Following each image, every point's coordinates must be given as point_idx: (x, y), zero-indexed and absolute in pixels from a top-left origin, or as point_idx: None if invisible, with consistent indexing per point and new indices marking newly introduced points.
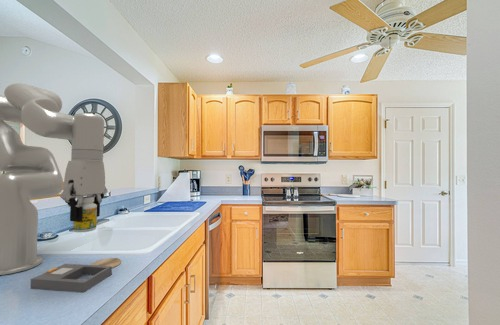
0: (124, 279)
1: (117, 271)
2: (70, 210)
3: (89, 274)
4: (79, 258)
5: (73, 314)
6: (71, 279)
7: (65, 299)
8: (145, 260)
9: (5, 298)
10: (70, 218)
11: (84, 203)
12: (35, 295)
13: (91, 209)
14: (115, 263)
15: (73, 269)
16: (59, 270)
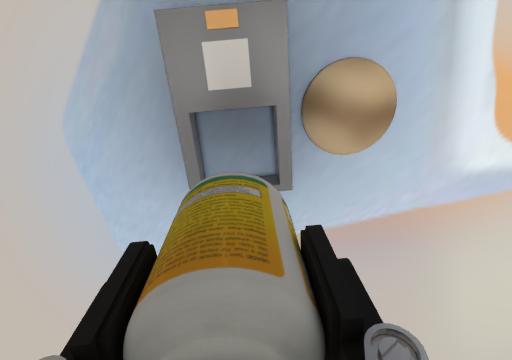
0: None
1: (308, 179)
2: (92, 306)
3: (274, 121)
4: None
5: (131, 236)
6: (194, 151)
7: (160, 175)
8: (388, 203)
9: (100, 5)
10: (126, 254)
11: None
12: (144, 81)
13: None
14: (350, 143)
15: (249, 90)
16: (227, 51)
